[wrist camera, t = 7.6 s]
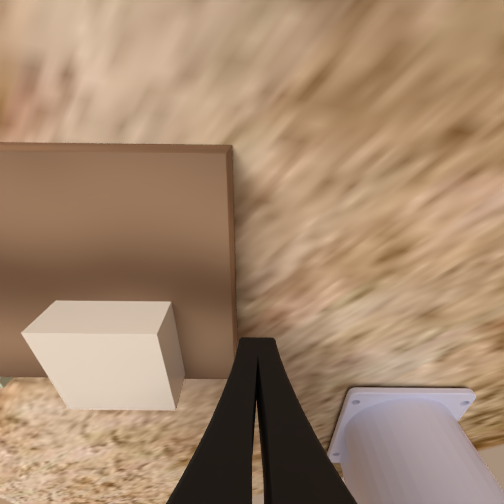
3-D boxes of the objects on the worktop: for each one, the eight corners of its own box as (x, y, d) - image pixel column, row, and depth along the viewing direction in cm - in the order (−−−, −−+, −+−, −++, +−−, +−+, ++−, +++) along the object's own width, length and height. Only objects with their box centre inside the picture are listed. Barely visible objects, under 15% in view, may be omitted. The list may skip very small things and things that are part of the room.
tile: (185, 374, 11) (175, 410, 10) (91, 373, 11) (68, 409, 10) (171, 301, 9) (157, 334, 8) (55, 300, 9) (21, 332, 8)
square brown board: (237, 338, 14) (234, 378, 12) (22, 336, 14) (-19, 376, 12) (232, 144, 9) (225, 153, 7) (-100, 141, 9) (-210, 149, 7)
